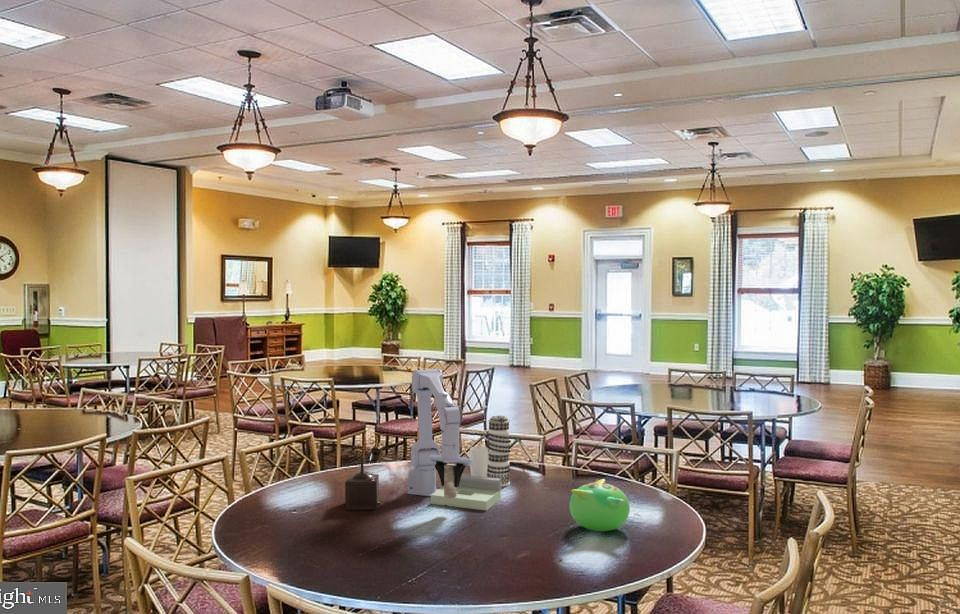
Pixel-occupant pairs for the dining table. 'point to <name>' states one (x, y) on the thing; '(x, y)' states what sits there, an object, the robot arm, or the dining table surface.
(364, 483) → the pepper mill
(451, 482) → the peg
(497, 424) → the decorative candle
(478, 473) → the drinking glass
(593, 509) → the toy bird
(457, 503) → the socket board
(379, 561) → the dining table surface
